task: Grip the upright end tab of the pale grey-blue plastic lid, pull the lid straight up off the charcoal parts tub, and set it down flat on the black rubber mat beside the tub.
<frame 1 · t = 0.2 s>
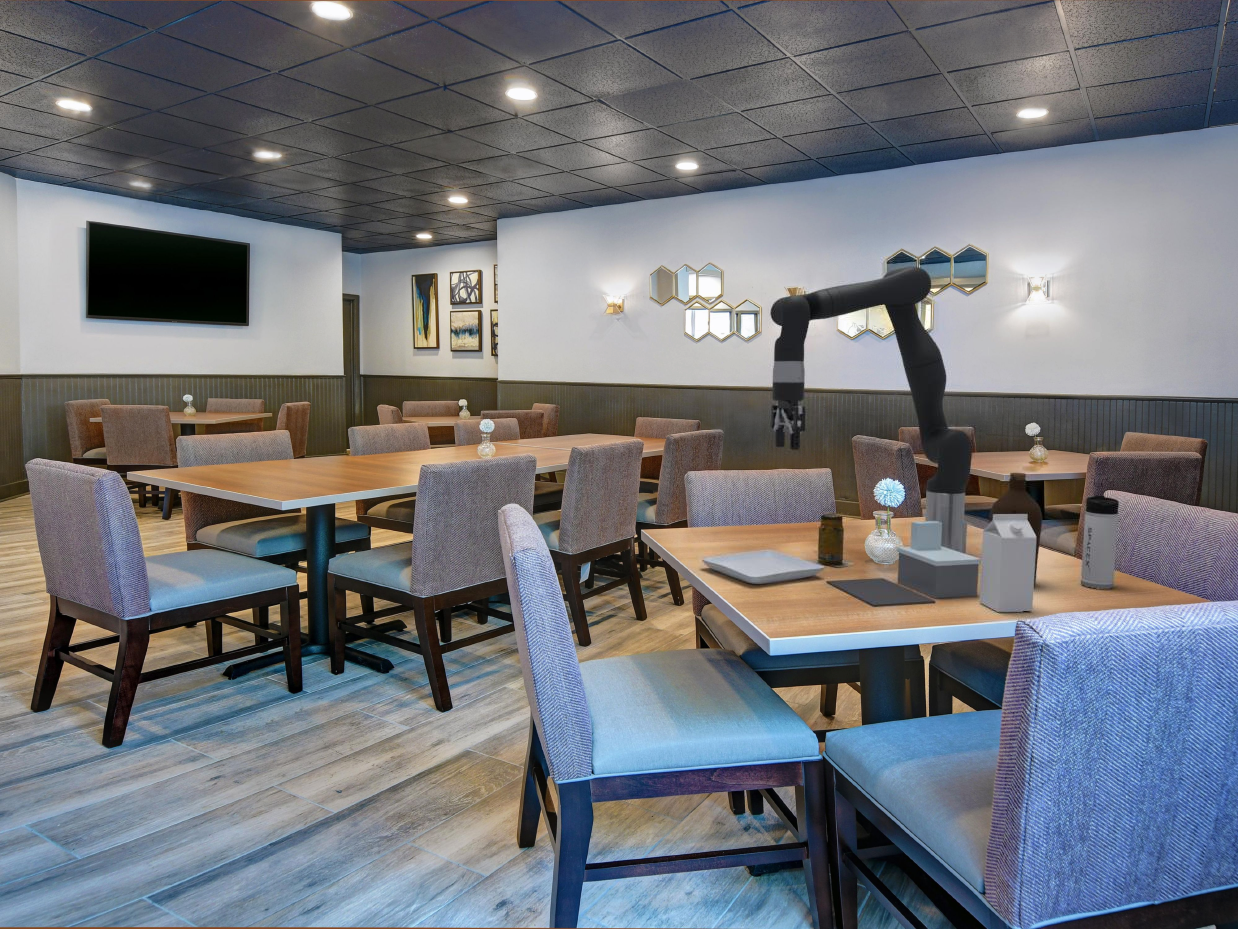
hand: (786, 448, 196), 29 cm above the table, fingers open, 8 cm apart
mat: (878, 592, 174), on the table
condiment: (832, 564, 202), on the table
tub: (936, 588, 178), on the table
olive oil: (1011, 584, 183), on the table
milk carton: (1005, 608, 163), on the table
travel mug: (1096, 586, 181), on the table
lid: (937, 557, 177), point 7 cm above the table, touching tub
salad plate: (761, 576, 191), on the table
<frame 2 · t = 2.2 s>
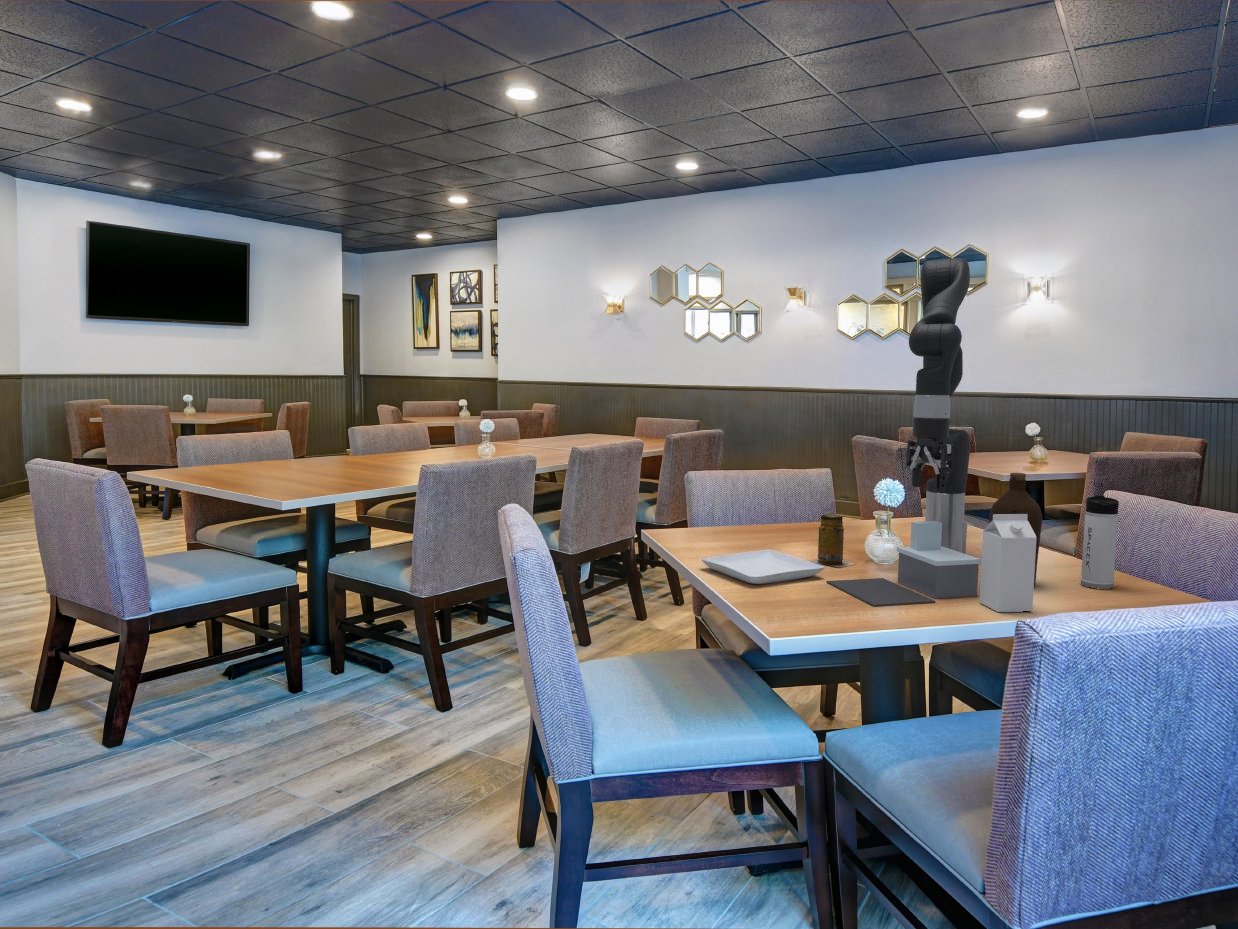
hand: (927, 489, 180), 21 cm above the table, fingers open, 8 cm apart
nothing on the table moved.
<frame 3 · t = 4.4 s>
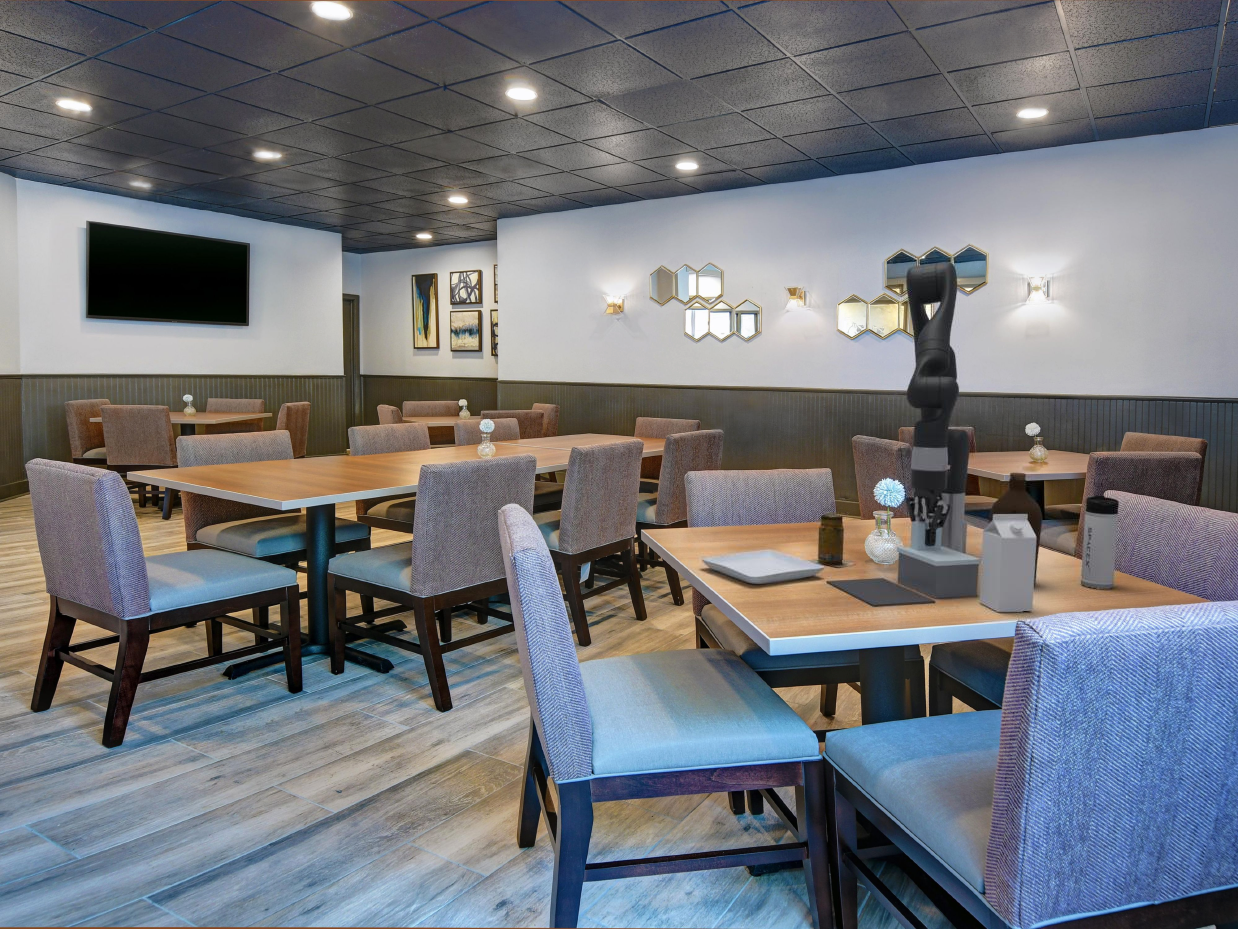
hand: (925, 544, 181), 9 cm above the table, fingers closed on lid, 2 cm apart
lid: (937, 557, 177), point 7 cm above the table, touching gripper
everything else where it was.
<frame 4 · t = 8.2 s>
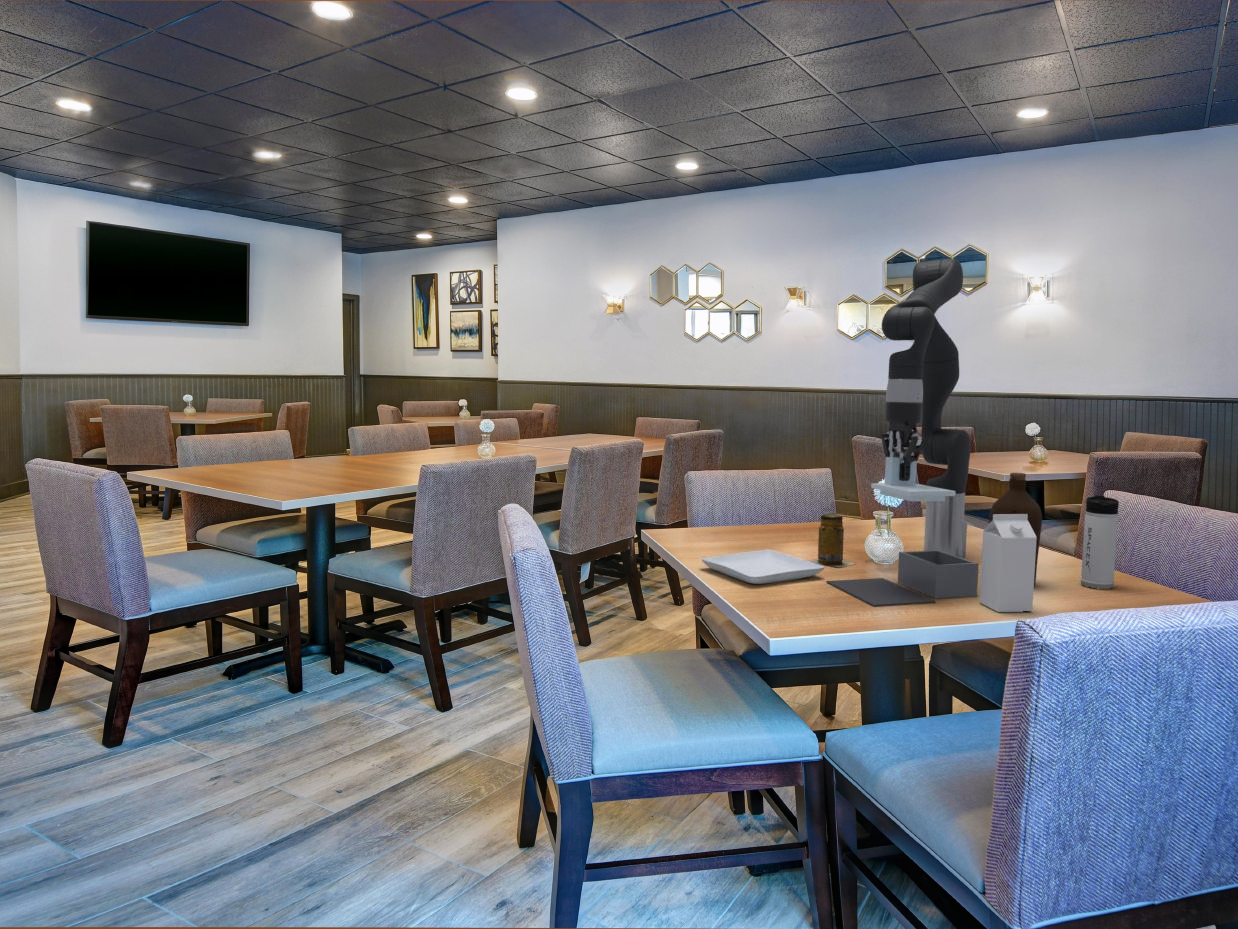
hand: (900, 479, 177), 24 cm above the table, fingers closed on lid, 2 cm apart
lid: (911, 491, 173), point 22 cm above the table, touching gripper
everything else where it was.
when the fingers open (5 cm above the table, at t = 11.9 s): lid stays where it is, resting on mat.
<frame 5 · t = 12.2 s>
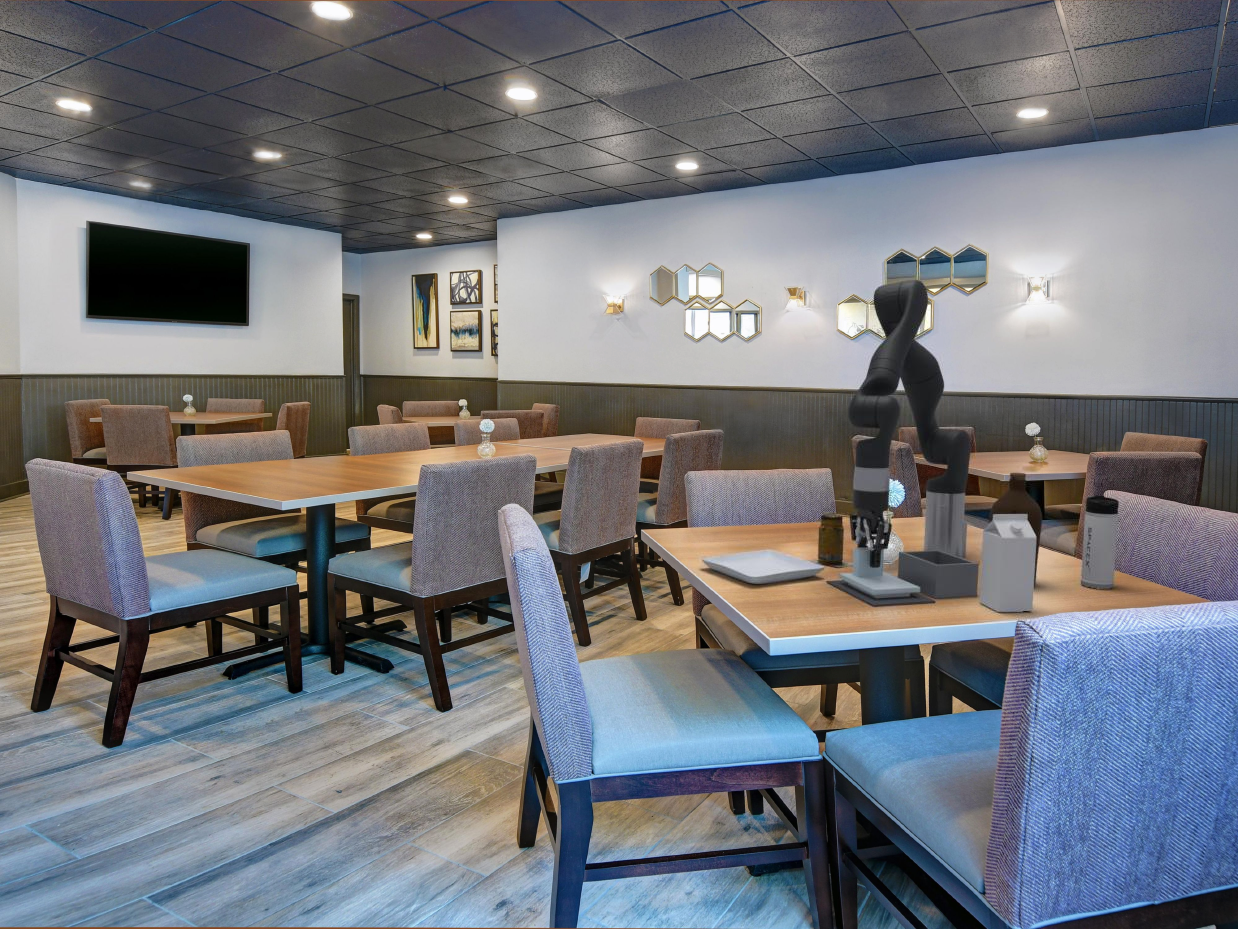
hand: (868, 564, 178), 5 cm above the table, fingers open, 4 cm apart
lid: (878, 584, 174), point 2 cm above the table, touching mat
everything else where it was.
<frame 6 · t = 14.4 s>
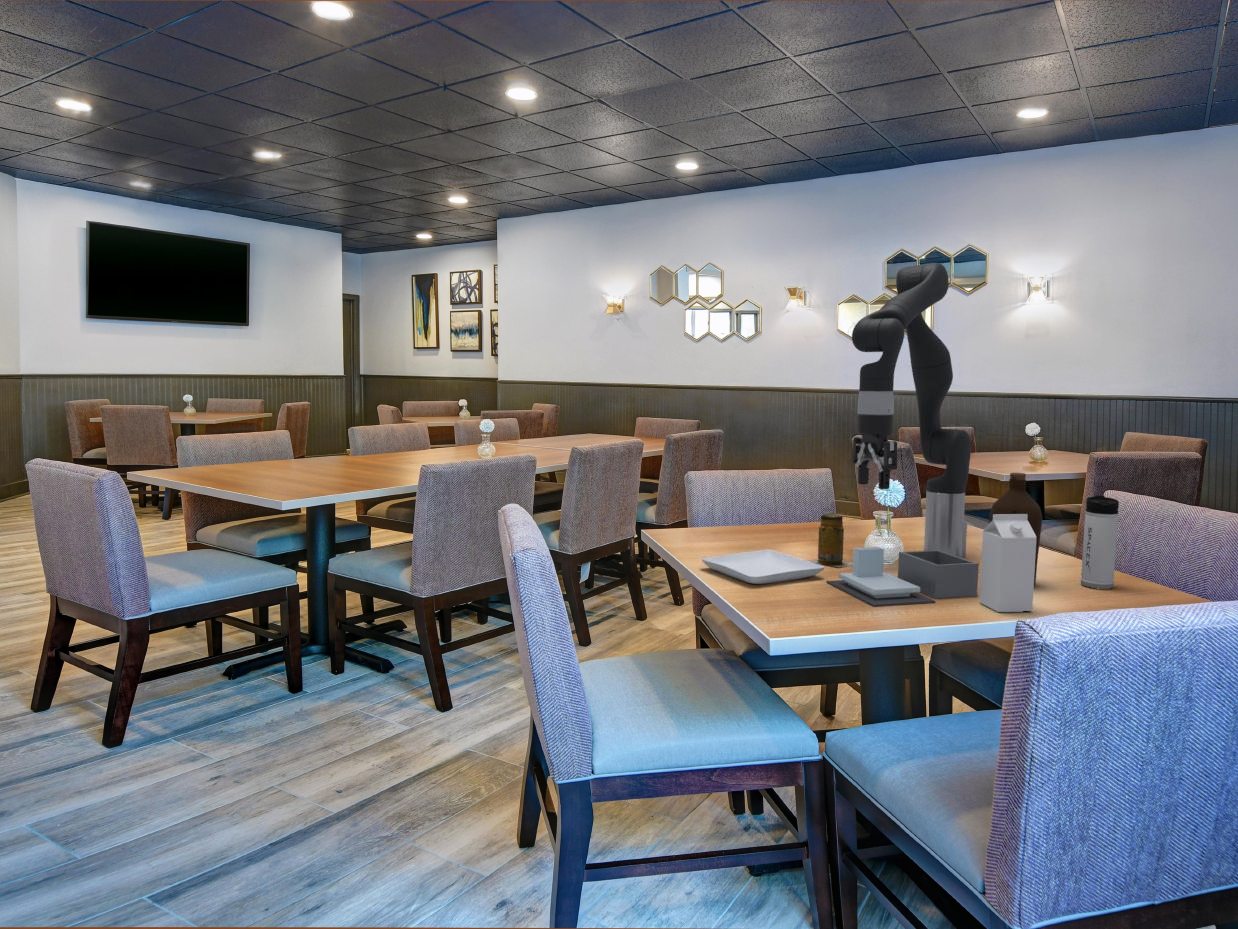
hand: (873, 486, 177), 22 cm above the table, fingers open, 8 cm apart
nothing on the table moved.
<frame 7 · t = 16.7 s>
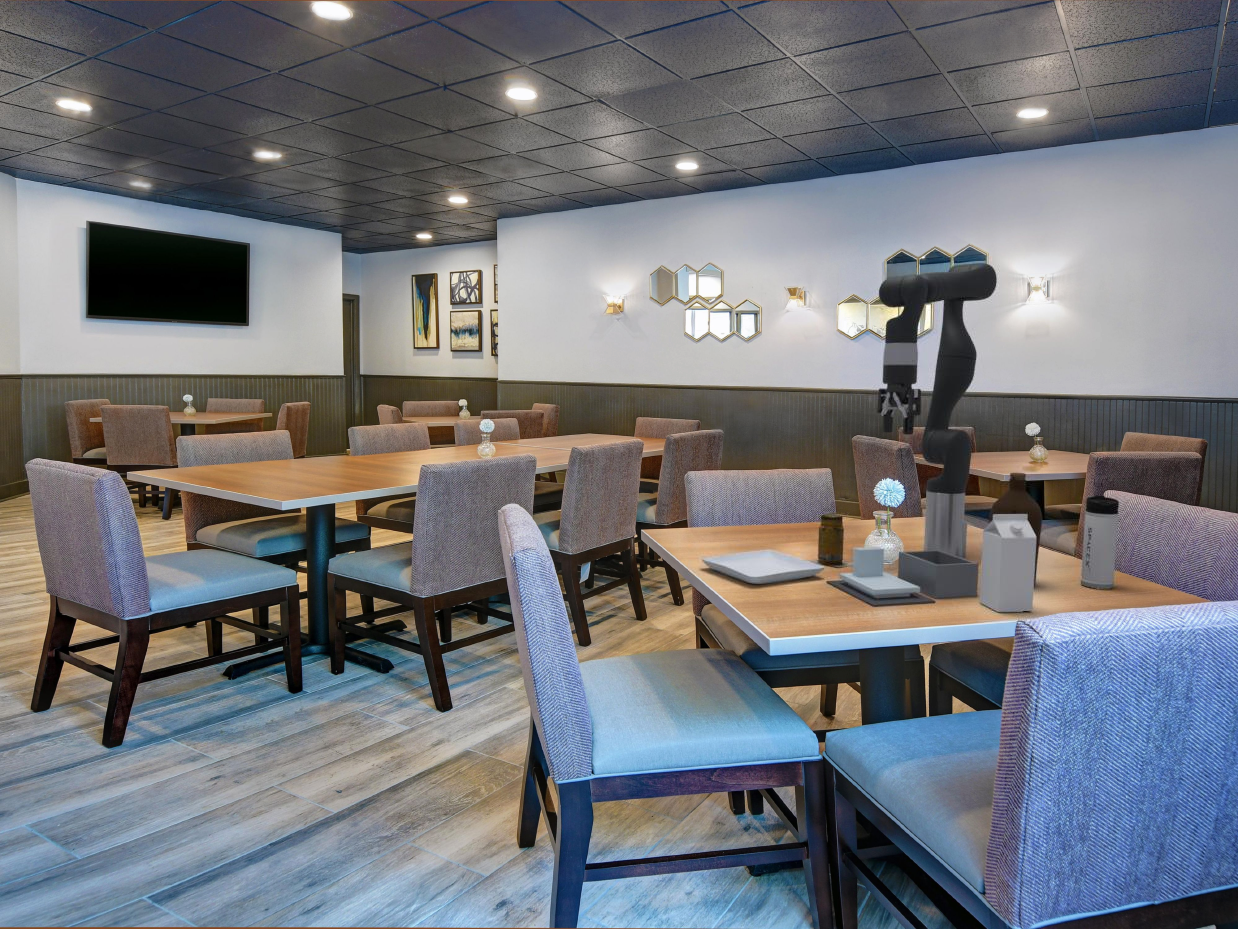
hand: (897, 433, 189), 33 cm above the table, fingers open, 8 cm apart
nothing on the table moved.
at the end: lid inside the target area on the mat (0.2 cm from its centre), point 1.6 cm above the mat's base; lid tilted 0°; the gripper is holding nothing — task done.
